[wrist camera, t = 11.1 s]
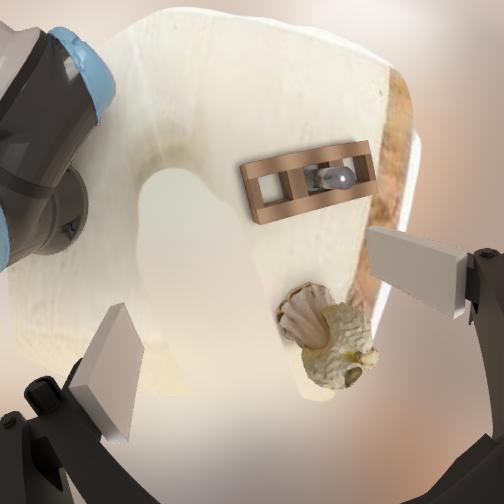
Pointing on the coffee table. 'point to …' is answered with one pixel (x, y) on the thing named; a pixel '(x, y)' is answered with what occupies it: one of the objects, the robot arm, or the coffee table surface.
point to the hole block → (296, 185)
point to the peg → (330, 178)
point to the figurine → (328, 336)
